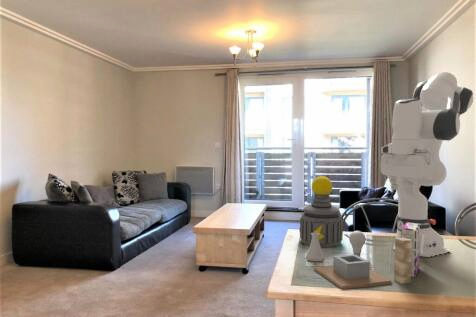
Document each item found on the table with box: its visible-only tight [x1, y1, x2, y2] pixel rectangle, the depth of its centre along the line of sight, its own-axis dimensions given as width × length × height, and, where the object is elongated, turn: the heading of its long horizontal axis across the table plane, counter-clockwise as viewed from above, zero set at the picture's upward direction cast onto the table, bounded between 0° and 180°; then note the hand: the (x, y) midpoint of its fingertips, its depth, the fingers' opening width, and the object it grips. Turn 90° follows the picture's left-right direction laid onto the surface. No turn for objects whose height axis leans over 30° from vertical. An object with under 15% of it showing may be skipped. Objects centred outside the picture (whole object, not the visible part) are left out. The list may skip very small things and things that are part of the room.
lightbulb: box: [348, 230, 367, 257], centre depth 145 cm, size 6×6×11 cm
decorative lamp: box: [299, 175, 344, 249], centre depth 168 cm, size 19×19×30 cm
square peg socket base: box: [313, 253, 392, 290], centre depth 126 cm, size 18×18×6 cm
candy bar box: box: [401, 222, 420, 278], centre depth 131 cm, size 11×5×16 cm, turn 148°
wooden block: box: [393, 237, 412, 284], centre depth 122 cm, size 4×4×14 cm
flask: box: [305, 233, 325, 262], centre depth 144 cm, size 7×7×10 cm
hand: (404, 191), depth 121 cm, fingers open, 8 cm apart
